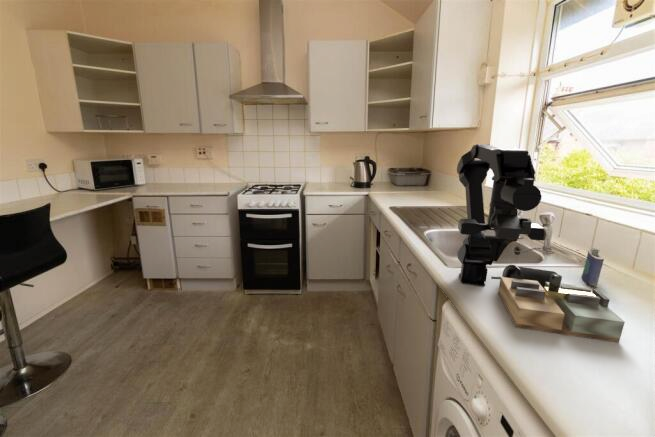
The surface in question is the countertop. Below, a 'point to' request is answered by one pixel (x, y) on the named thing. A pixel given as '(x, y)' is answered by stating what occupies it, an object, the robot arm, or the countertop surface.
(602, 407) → the countertop surface
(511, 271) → the drinking cup
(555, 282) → the bolt
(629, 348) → the countertop surface
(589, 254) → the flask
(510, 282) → the frame
